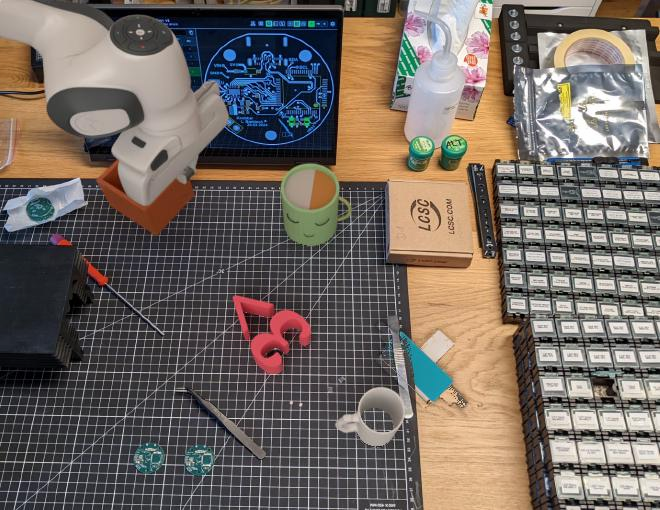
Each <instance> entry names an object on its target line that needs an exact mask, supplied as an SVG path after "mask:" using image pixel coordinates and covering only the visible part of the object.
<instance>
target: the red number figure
mask: <svg viewBox="0 0 660 510" xmlns="http://www.w3.org/2000/svg"><path fill="white" fill-rule="evenodd" d="M232 301H233V304H234V308H235V310H236V314H237V317H238V320H239V321H238V322H239V323H240V327H241V330H242V334H243V337H244V339H245V342H246V341H247V340H248V339H249V338H251V335H250V330H249V326H248V324H247V321H246V317H245V313H243V312H247V313H250V314H255V315H260V316H264V317H268V318H271V317H272V316H273V315H274V314H275V315H274V316H273V317H272V319H270V322H269V327H270V333H268V332H263V333H259V334H257V335H256V336H254V337H253V339H251V342H250V350H251V354H252V357H253V360H255V361H254V363H255V362H256V363H257V364H258V366H259V367H260V368H261V369H263V370H264V371H265V372H267V373H270V374H278V373H280V372H281V371H282V370H283V371H284V365H283V364H284V363H283V359H282V356H281V355H280V353H279V351H276V352H275V353H274V354H273V355H271V356H269V357H263V356H264V355H265V354H266V353H267V352H268V351H269V350H271V349H274V348H278V349H280V350H282V351H283V352H284V353H285V354H287V353H288V352H289V351H290V344H289V342H288V341H287V340H286V339H285V338H284V335H283V333H284V332H285V331H286V330H288V329H290V328H296V329H298V330H300V331H301V333H300V334H299V335H298V338H299V339H298V340H299V345H300V344H301V345H304V346H306V345H308V344H309V343H310V341H311V342H312V328H311V326H310V324H309V323H308V322H307V320H306V319H305V318H304V317H303V316H302V315H301V314H300V313H297V312H295V311H294V310H289V309H284V310H283V309H282V310H280V311H278V312H276V313H275V305H274V303H271V302H266V301H263V300H258V299H255V298H254V299H253V298H250V297H244V296H241V295H236V294H235V295H233V296H232ZM250 314H249V315H250ZM282 335H283V337H282ZM256 363H255V364H256ZM257 364H256V365H257ZM258 366H257V367H258ZM259 367H258V368H259ZM260 368H259V369H260ZM261 369H260V370H261ZM264 371H263V372H264ZM265 372H264V373H265ZM267 373H266V374H267Z"/></svg>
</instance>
